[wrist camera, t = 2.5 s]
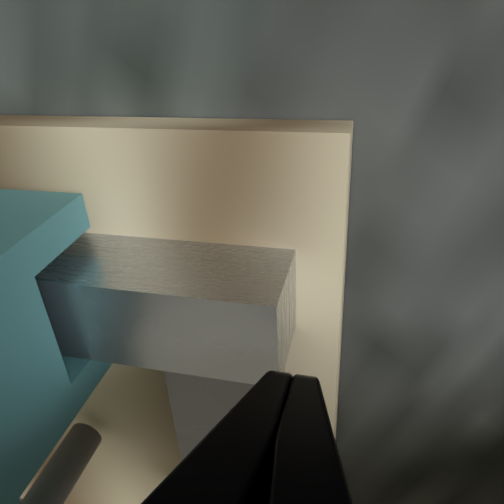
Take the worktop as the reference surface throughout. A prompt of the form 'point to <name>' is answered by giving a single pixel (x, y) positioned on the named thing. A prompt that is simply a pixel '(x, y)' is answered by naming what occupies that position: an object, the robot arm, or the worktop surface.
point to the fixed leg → (199, 405)
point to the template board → (199, 230)
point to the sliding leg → (39, 354)
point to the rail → (173, 305)
